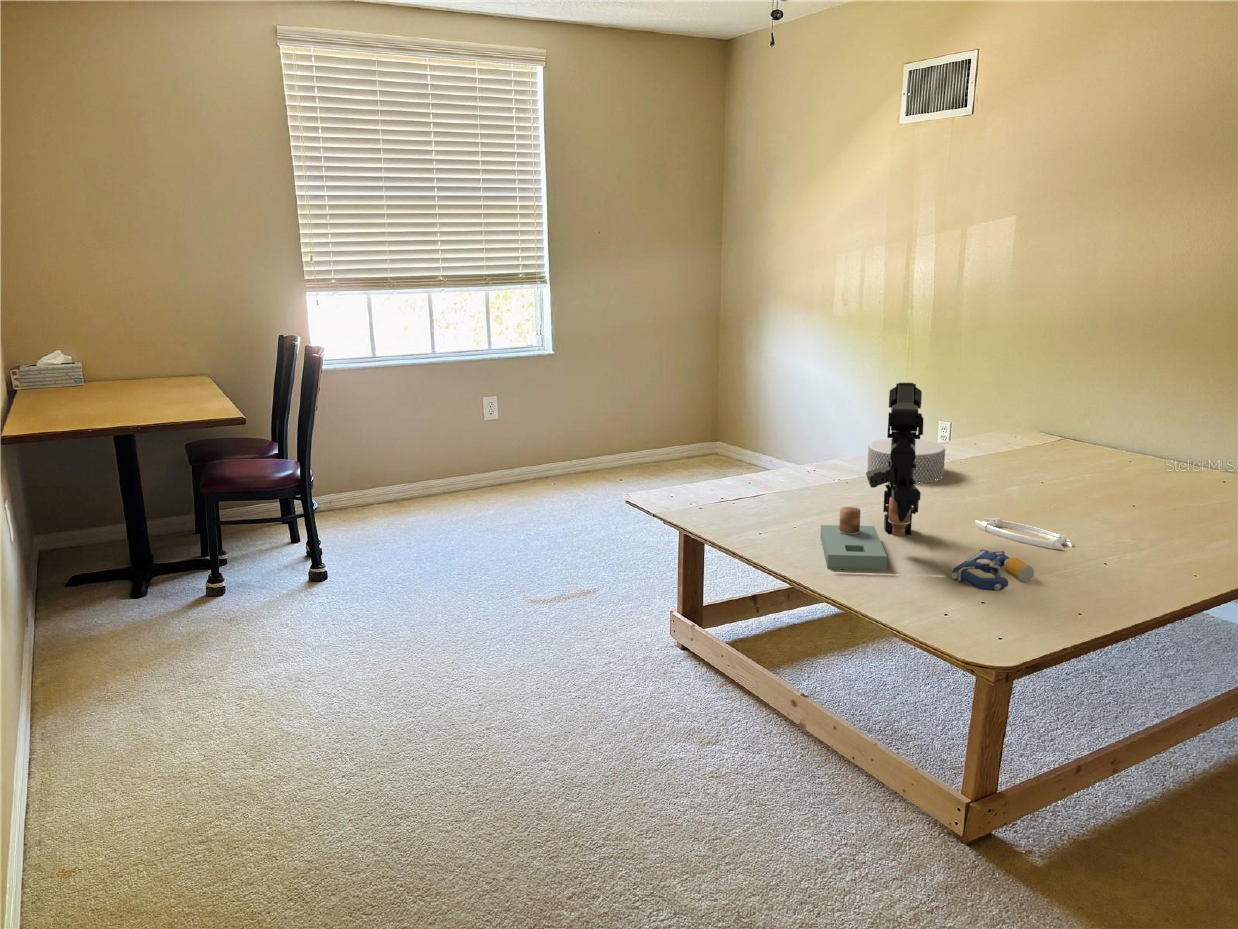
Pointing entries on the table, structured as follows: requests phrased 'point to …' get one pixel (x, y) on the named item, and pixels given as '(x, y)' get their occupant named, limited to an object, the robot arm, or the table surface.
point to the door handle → (1051, 543)
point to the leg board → (853, 549)
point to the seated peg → (849, 520)
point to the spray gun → (991, 570)
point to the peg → (897, 519)
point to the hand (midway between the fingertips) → (899, 517)
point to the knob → (926, 461)
